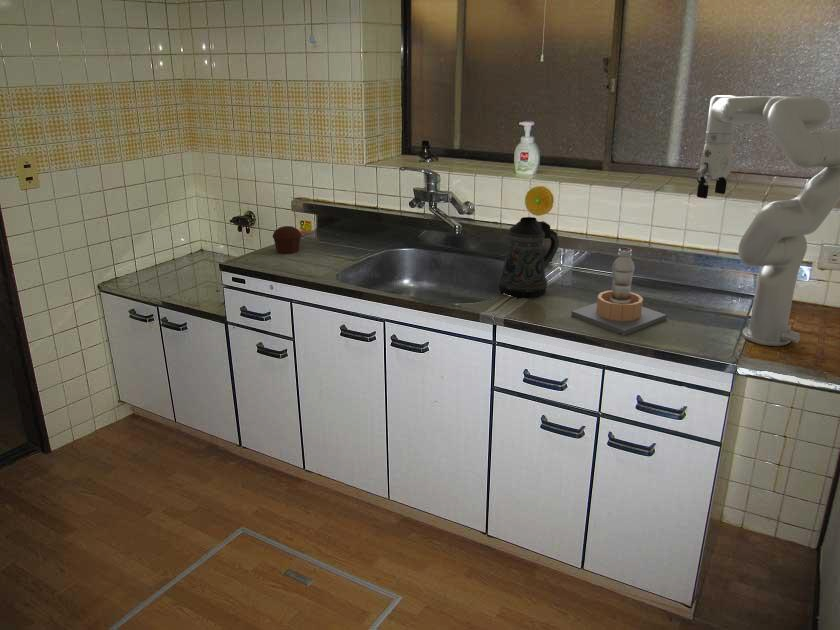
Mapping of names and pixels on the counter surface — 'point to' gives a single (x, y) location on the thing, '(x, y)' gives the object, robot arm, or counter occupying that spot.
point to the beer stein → (527, 259)
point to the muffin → (287, 240)
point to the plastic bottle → (622, 277)
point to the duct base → (619, 325)
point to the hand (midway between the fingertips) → (710, 195)
